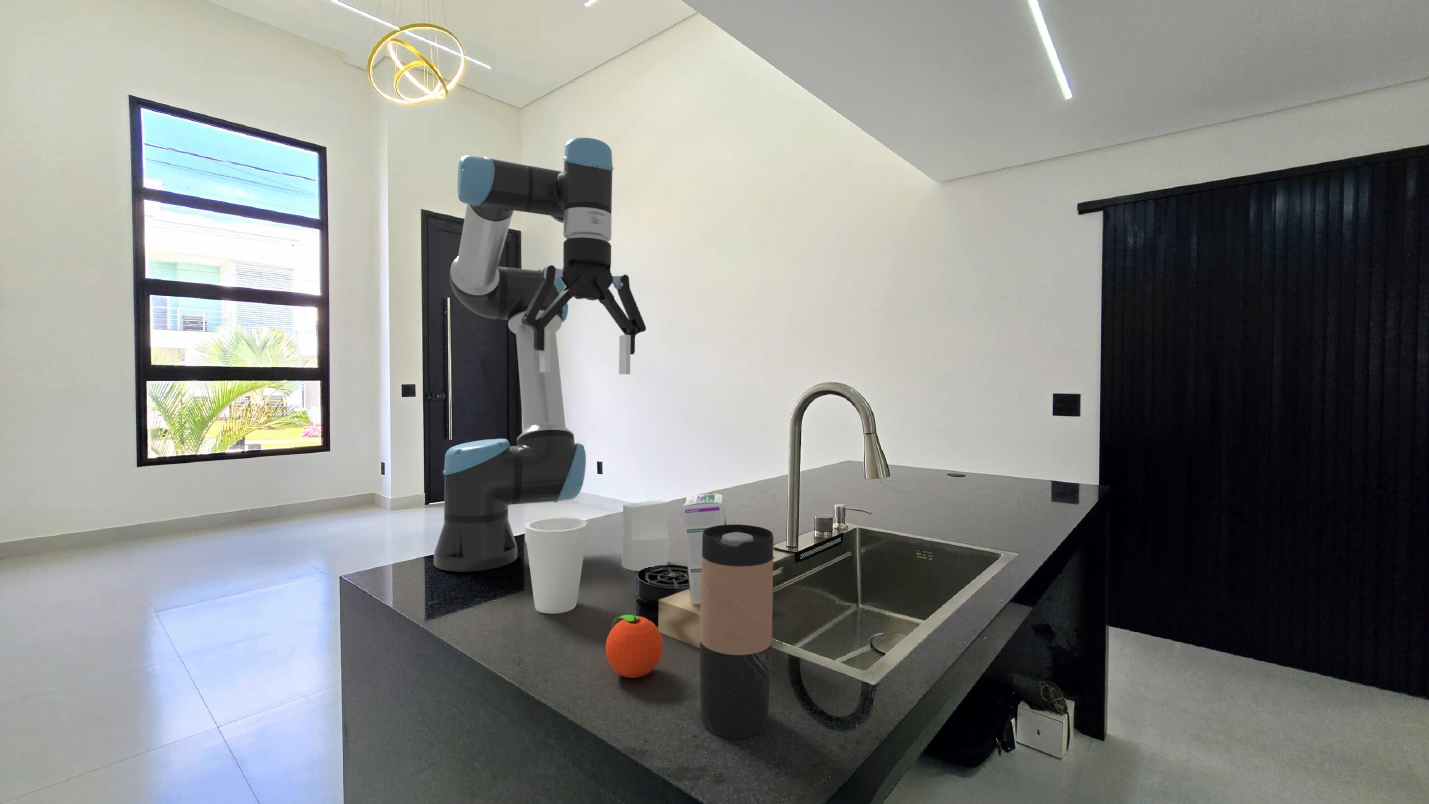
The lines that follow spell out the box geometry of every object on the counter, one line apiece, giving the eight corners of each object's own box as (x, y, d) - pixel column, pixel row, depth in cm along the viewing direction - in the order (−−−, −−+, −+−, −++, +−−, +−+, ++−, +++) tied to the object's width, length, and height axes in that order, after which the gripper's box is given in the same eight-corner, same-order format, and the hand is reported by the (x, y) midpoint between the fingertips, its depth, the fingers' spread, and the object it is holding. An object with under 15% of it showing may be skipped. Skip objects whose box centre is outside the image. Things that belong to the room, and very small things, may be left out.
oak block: (658, 634, 87) (658, 599, 86) (708, 612, 95) (709, 581, 95) (716, 658, 79) (717, 620, 79) (765, 632, 88) (766, 598, 88)
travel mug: (746, 694, 70) (749, 521, 69) (784, 728, 63) (788, 537, 62) (686, 710, 66) (689, 527, 65) (719, 748, 59) (723, 545, 58)
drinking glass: (638, 575, 111) (639, 510, 111) (612, 563, 118) (613, 502, 118) (677, 566, 117) (678, 504, 117) (650, 555, 124) (651, 497, 124)
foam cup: (536, 622, 89) (537, 534, 89) (516, 602, 96) (516, 521, 96) (596, 608, 95) (597, 526, 94) (572, 591, 102) (573, 515, 102)
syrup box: (731, 603, 84) (724, 501, 83) (689, 605, 84) (681, 504, 83) (732, 587, 90) (725, 491, 89) (692, 589, 90) (685, 494, 89)
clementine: (587, 671, 74) (588, 614, 74) (631, 653, 79) (632, 600, 79) (630, 695, 69) (631, 633, 69) (674, 674, 74) (675, 616, 74)
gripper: (515, 223, 87) (514, 371, 88) (667, 247, 101) (665, 375, 102) (501, 233, 93) (500, 371, 94) (646, 255, 107) (644, 374, 108)
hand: (586, 373), depth 98 cm, fingers open, 13 cm apart
